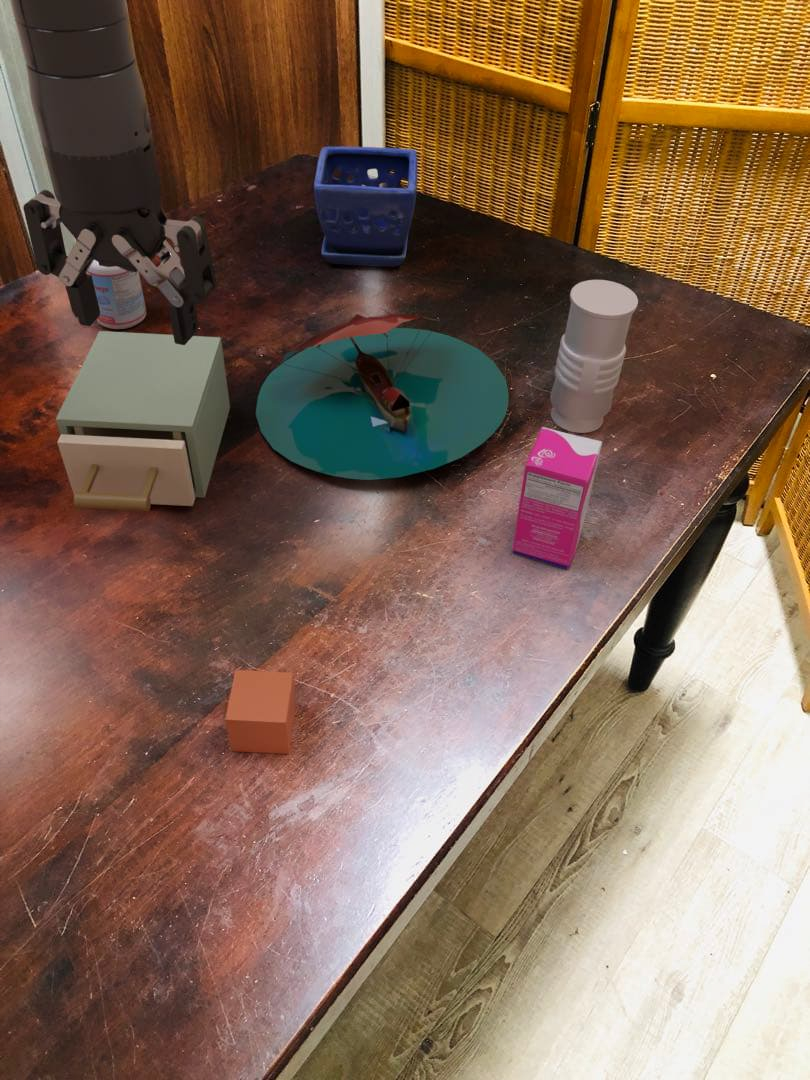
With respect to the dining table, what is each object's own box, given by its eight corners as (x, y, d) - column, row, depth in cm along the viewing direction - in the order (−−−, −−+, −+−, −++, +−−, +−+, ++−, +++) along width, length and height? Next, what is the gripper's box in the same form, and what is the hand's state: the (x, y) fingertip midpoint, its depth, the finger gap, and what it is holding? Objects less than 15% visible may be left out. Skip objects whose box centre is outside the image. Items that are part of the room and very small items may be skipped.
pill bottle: (87, 315, 109) (65, 229, 101) (131, 299, 112) (113, 214, 104) (111, 337, 106) (91, 250, 98) (156, 319, 109) (140, 234, 101)
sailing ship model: (444, 318, 112) (442, 235, 104) (554, 442, 93) (562, 352, 85) (230, 376, 105) (211, 292, 97) (302, 523, 86) (286, 432, 78)
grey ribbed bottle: (544, 431, 97) (567, 311, 86) (548, 393, 101) (571, 275, 91) (607, 440, 96) (639, 320, 85) (608, 402, 101) (638, 284, 90)
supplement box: (525, 514, 87) (542, 423, 79) (583, 531, 86) (607, 441, 78) (508, 553, 84) (524, 462, 75) (568, 572, 82) (592, 481, 74)
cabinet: (204, 498, 87) (192, 426, 81) (77, 491, 87) (55, 418, 81) (230, 407, 97) (221, 337, 91) (116, 401, 97) (99, 330, 91)
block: (231, 751, 68) (224, 719, 65) (240, 701, 71) (235, 669, 68) (289, 754, 68) (286, 722, 65) (296, 704, 71) (293, 672, 68)
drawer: (181, 545, 82) (169, 487, 76) (58, 539, 82) (38, 480, 76) (218, 419, 94) (210, 362, 89) (112, 414, 94) (97, 356, 89)
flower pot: (313, 272, 118) (310, 185, 110) (323, 225, 127) (321, 142, 119) (412, 277, 118) (416, 191, 110) (415, 230, 128) (419, 147, 119)
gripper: (-27, 135, 60) (36, 339, 72) (166, 166, 58) (198, 371, 69) (33, 96, 65) (83, 293, 77) (213, 124, 63) (235, 322, 74)
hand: (137, 330), depth 73 cm, fingers open, 8 cm apart
